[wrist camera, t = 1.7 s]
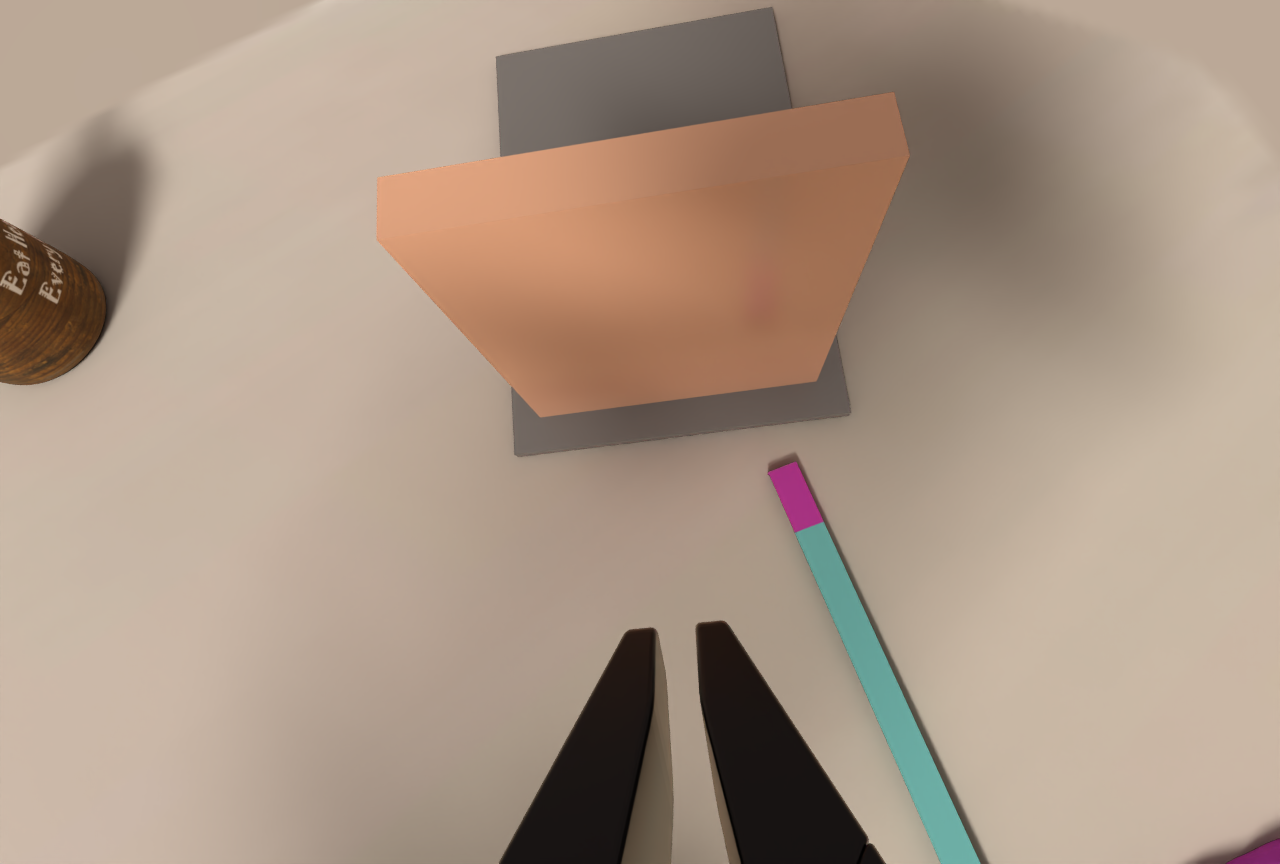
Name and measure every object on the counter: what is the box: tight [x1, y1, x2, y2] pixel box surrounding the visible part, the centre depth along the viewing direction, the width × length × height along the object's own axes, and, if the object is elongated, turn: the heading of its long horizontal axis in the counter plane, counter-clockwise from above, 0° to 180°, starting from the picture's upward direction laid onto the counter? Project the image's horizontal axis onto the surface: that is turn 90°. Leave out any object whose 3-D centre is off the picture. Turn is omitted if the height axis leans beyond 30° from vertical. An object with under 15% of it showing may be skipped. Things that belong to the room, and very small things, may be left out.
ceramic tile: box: [377, 92, 910, 417], centre depth 18 cm, size 2×10×12 cm, turn 95°
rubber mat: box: [496, 7, 851, 457], centre depth 26 cm, size 18×12×1 cm, turn 6°
